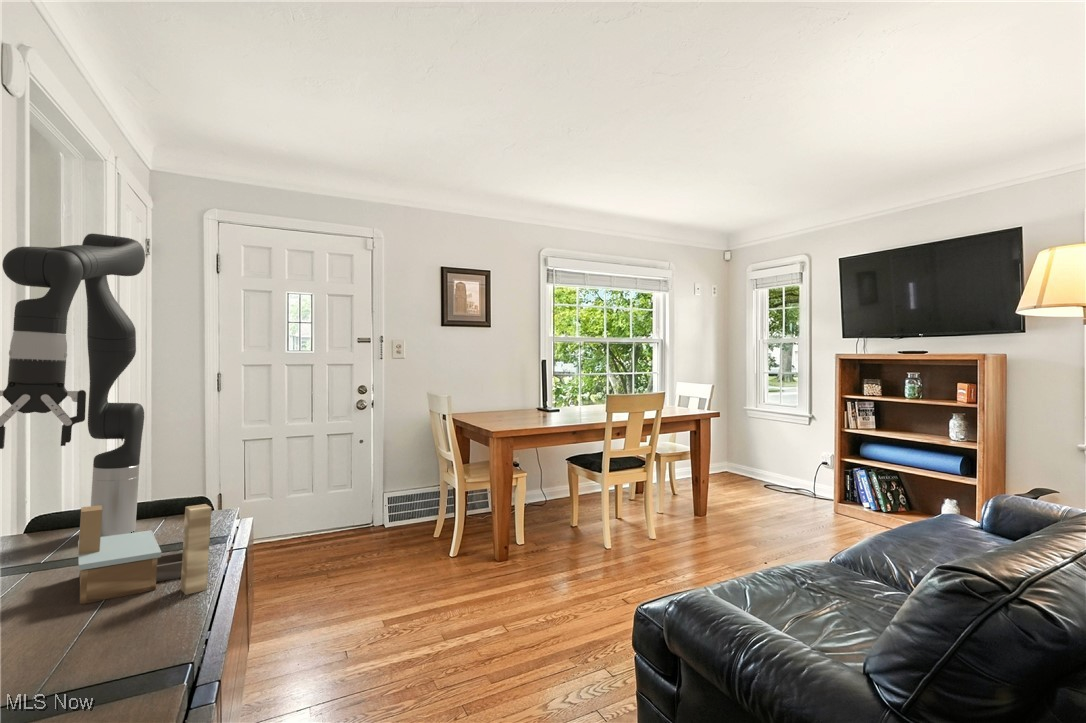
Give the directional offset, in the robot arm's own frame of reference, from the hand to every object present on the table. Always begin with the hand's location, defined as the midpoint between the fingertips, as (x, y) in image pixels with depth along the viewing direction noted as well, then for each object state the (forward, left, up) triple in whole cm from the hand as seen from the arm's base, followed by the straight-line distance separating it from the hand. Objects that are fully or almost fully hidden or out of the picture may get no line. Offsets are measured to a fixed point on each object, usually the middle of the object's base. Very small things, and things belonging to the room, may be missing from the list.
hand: (32, 446), depth 95 cm
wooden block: (+12, +24, -28) cm, 39 cm away
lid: (0, +13, -21) cm, 25 cm away
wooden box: (0, +17, -28) cm, 33 cm away
